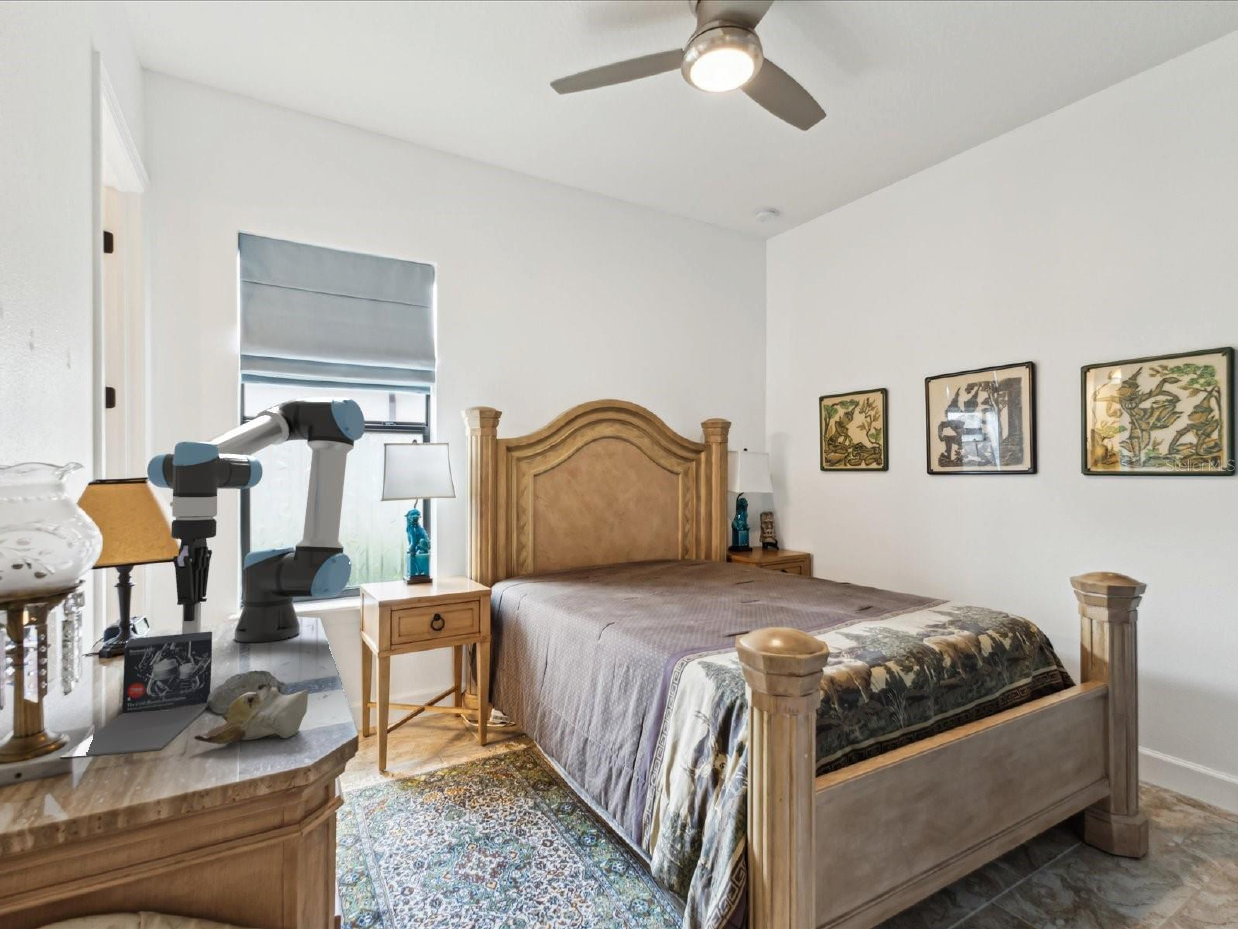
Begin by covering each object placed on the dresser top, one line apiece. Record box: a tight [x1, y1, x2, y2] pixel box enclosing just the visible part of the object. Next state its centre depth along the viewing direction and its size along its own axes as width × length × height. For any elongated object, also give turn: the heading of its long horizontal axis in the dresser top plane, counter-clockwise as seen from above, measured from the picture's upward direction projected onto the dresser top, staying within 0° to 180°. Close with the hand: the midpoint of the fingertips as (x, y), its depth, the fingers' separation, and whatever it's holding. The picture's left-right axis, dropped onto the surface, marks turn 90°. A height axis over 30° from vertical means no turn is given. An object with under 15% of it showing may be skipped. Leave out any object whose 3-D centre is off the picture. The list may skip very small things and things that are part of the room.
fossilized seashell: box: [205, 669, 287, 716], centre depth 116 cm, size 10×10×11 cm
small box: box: [121, 631, 213, 714], centre depth 116 cm, size 13×7×12 cm, turn 123°
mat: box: [86, 706, 208, 757], centre depth 103 cm, size 18×13×1 cm
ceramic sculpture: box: [193, 684, 310, 745], centre depth 101 cm, size 11×9×15 cm
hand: (191, 636), depth 126 cm, fingers closed
